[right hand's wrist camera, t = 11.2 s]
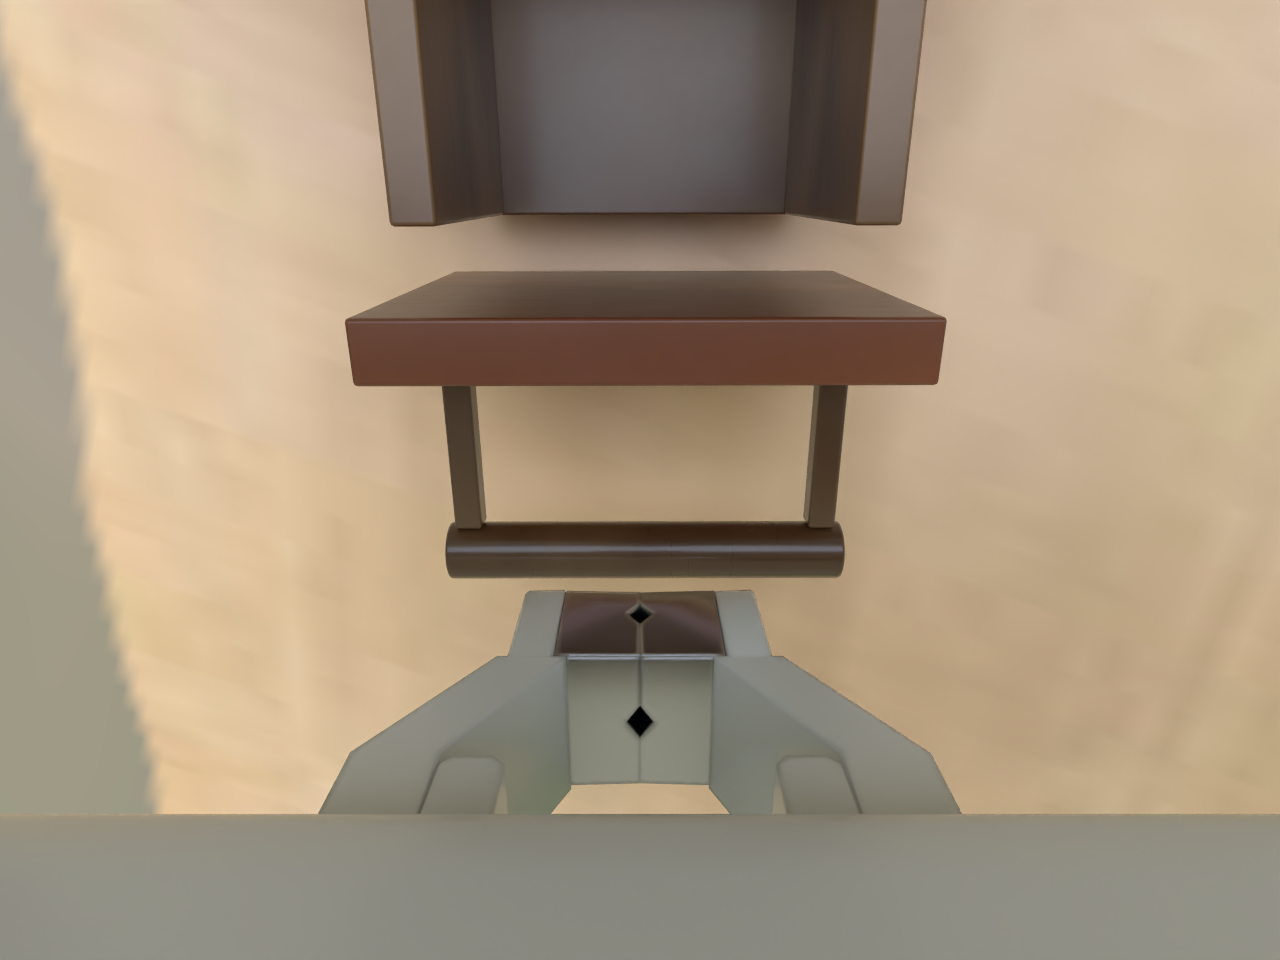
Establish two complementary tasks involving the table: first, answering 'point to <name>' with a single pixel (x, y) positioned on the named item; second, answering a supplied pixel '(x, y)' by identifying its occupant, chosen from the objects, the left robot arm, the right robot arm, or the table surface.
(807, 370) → the drawer
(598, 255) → the table surface
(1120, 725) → the table surface
